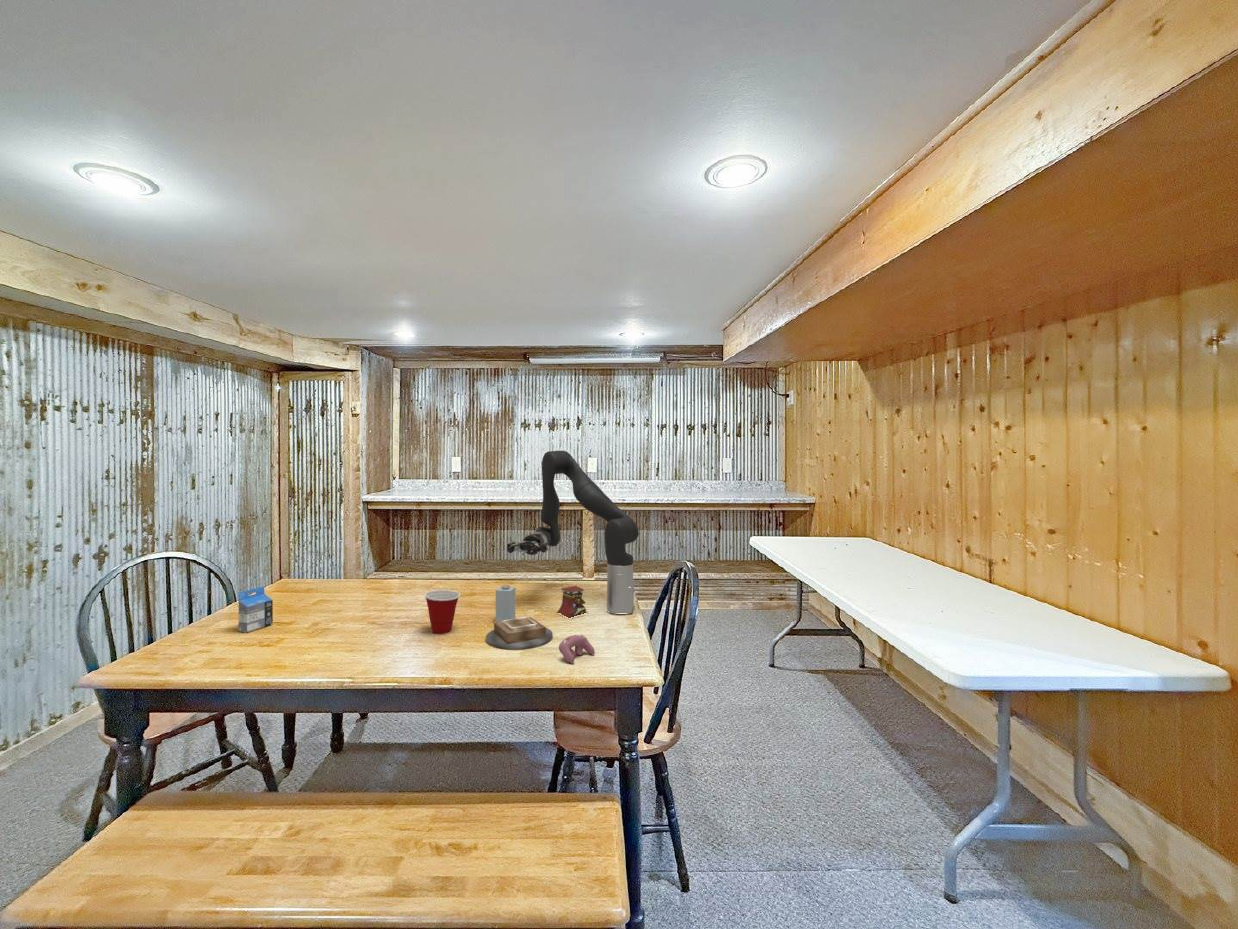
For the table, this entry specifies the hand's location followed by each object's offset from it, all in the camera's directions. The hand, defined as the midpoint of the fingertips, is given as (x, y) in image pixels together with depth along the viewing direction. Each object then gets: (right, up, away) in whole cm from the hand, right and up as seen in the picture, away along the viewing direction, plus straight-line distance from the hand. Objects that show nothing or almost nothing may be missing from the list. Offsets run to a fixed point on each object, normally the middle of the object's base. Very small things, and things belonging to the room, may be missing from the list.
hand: (521, 550), depth 194 cm
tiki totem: (+18, -23, 0) cm, 29 cm away
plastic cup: (-22, -23, -20) cm, 37 cm away
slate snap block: (-4, -22, -9) cm, 24 cm away
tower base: (+4, -23, -25) cm, 34 cm away
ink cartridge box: (-81, -22, -19) cm, 86 cm away
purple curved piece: (+22, -24, -41) cm, 52 cm away
